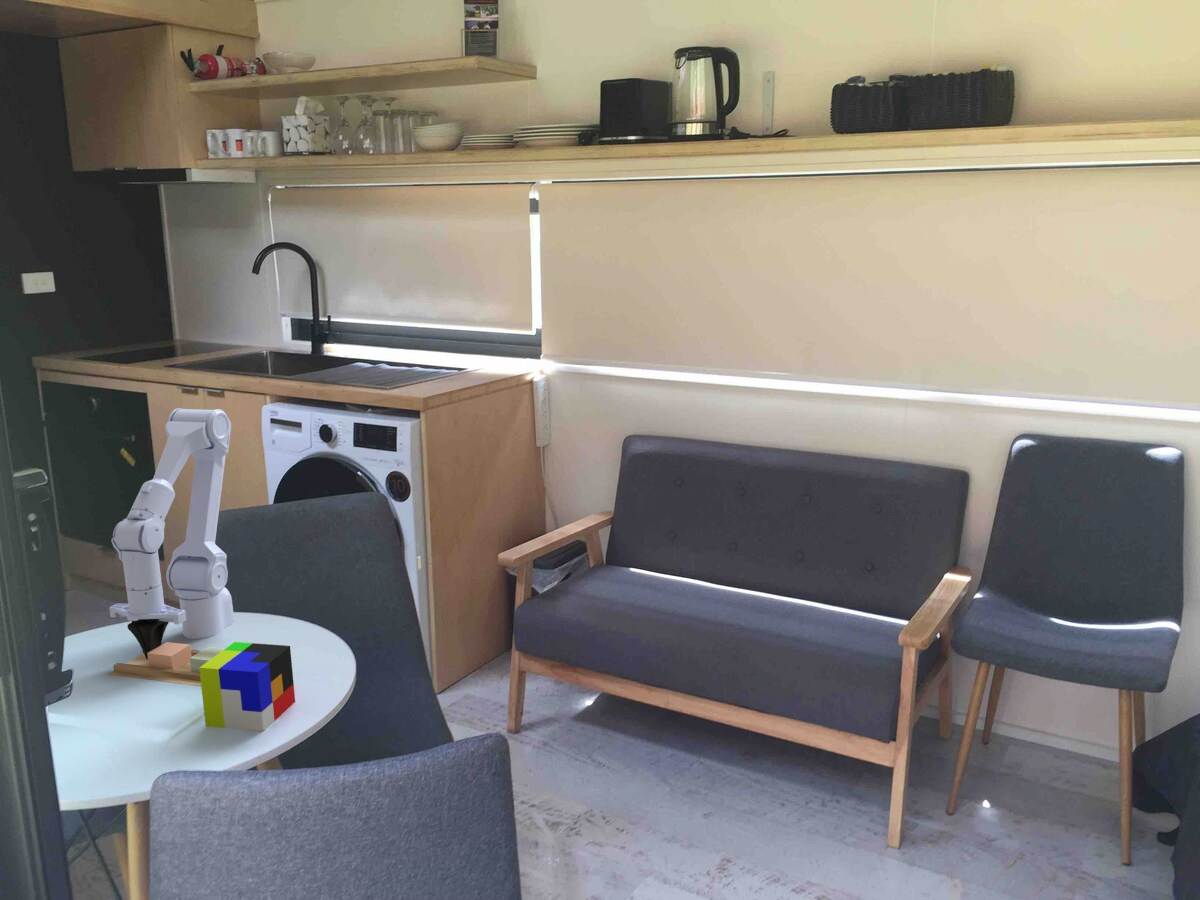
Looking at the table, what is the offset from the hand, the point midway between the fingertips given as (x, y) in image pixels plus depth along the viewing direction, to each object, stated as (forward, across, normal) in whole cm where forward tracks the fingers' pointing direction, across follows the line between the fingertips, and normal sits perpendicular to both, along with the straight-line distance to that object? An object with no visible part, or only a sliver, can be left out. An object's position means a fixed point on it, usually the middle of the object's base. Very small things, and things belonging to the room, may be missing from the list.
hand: (153, 657), depth 177 cm
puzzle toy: (+2, +27, -10) cm, 29 cm away
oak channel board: (+2, +8, 0) cm, 9 cm away
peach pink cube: (+1, +4, 0) cm, 4 cm away
